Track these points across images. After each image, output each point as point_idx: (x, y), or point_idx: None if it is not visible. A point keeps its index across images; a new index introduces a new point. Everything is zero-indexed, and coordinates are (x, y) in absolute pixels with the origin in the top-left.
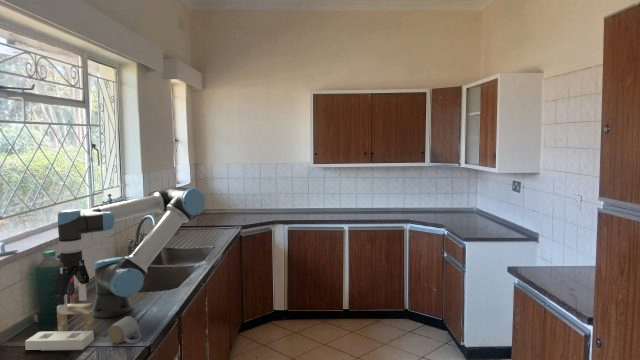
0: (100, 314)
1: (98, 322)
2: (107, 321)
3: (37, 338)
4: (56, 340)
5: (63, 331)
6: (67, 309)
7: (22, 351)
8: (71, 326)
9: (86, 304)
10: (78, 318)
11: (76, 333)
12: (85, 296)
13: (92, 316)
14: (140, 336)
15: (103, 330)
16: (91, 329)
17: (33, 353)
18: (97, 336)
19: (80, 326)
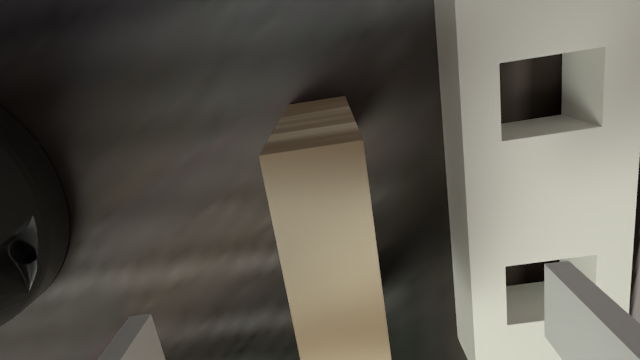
0: (54, 220)
1: (141, 176)
2: (109, 121)
3: None
4: (637, 167)
5: (473, 228)
6: (565, 280)
7: None
8: (238, 304)
9: (305, 204)
10: None
11: (498, 110)
12: (131, 349)
13: (288, 123)
14: None
15: (264, 41)
16: (320, 103)
17: None
18: (371, 14)
19: (228, 251)
